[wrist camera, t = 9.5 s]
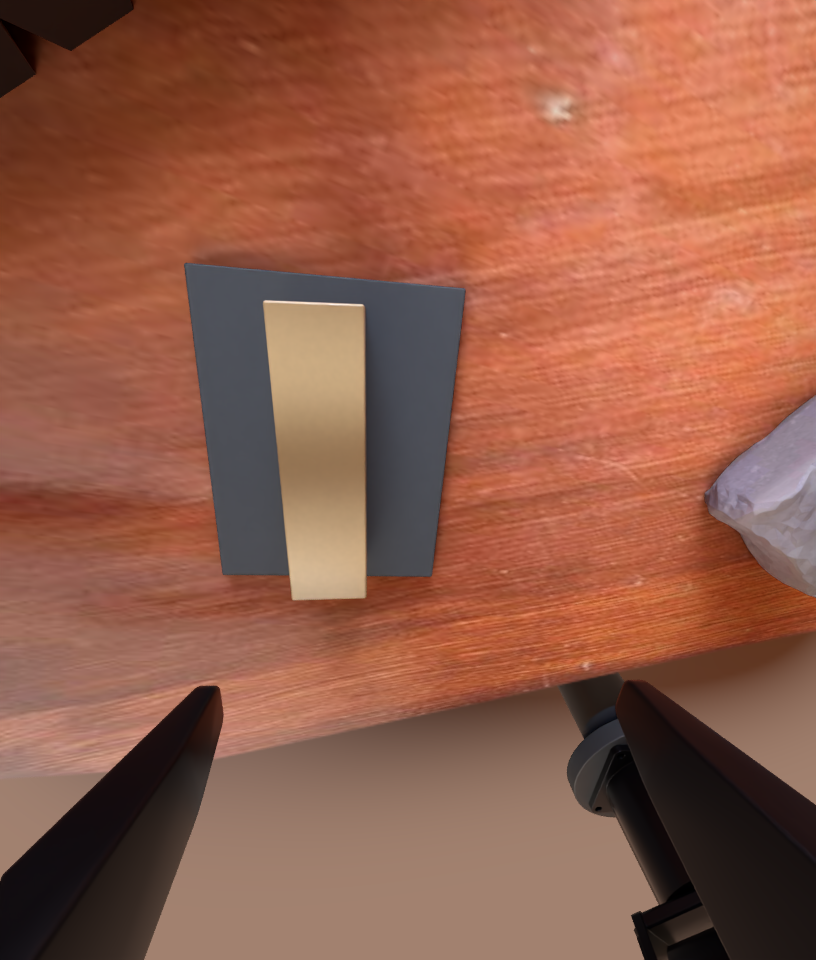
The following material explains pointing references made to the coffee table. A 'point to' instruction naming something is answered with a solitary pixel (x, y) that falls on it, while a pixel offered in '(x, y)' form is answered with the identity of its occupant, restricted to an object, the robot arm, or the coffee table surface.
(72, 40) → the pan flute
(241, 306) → the grey mat
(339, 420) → the maple bar
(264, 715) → the coffee table surface
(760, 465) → the stone block
